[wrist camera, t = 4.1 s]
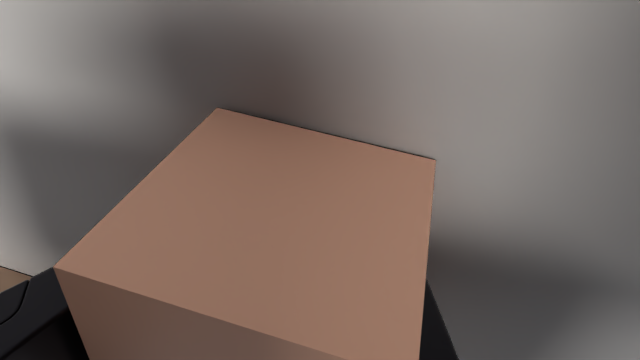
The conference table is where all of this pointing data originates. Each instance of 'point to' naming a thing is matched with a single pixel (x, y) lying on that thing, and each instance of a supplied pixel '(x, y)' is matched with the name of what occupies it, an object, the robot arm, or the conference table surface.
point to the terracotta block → (259, 251)
